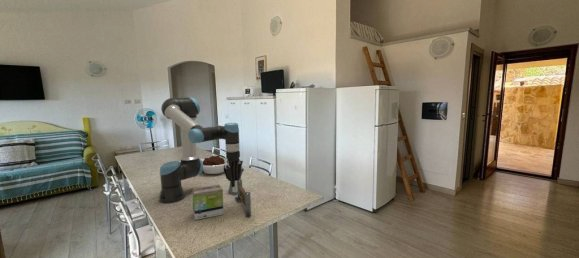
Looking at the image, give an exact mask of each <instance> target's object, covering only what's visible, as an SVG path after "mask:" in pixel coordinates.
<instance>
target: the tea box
mask: <svg viewBox="0 0 579 258" xmlns="http://www.w3.org/2000/svg"><path fill="white" fill-rule="evenodd" d="M191 189H192V190H191V192H192V212H193V216H194V220H195V221H197V220H201V219H202V220H203V219H206V218H212V217H216V216H221V215H224V193H223V192H224V190H223V188H222V187H221V185H220V184H213V185H207V186H206V185H205V186H200V187H194V188H191Z"/></svg>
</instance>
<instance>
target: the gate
mask: <svg viewBox="0 0 579 258" xmlns="http://www.w3.org/2000/svg"><path fill="white" fill-rule="evenodd" d="M239 189H240V194H239V196H240V200H241V201H242V202H241V203H242V204H243V206H244V207H245V193H246V192H247V191H246V190H245V189H244V187H243V184H242V185H241V186H239Z"/></svg>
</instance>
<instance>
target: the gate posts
mask: <svg viewBox="0 0 579 258" xmlns="http://www.w3.org/2000/svg"><path fill="white" fill-rule="evenodd" d="M241 185H242V186H243V180H242V179H241V180H238V185H237V187H238V194H237V196H236V197H234V201H235V203H236V204H239V203H242V201H241V200H240V196H239V194H240V189H239V186H241ZM245 192H246V193H245V206H244V211H245V212H244V213H245V218H250V217H252V207H251V205H252V204H251V203H252V202H251V201H252V199H251V192H250V191H249V192H247V191H245Z"/></svg>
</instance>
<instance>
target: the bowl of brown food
mask: <svg viewBox="0 0 579 258" xmlns="http://www.w3.org/2000/svg"><path fill="white" fill-rule="evenodd" d="M202 163H203V171H202V172H203V173H204V174H207V175H217V174H218V175H219V174H222V173H225V172H224V165H226V164H227V158H223V157H221V156H220V155H215V156H214V155H211V156H209V157H205V158H204V159H203V160H202Z"/></svg>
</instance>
